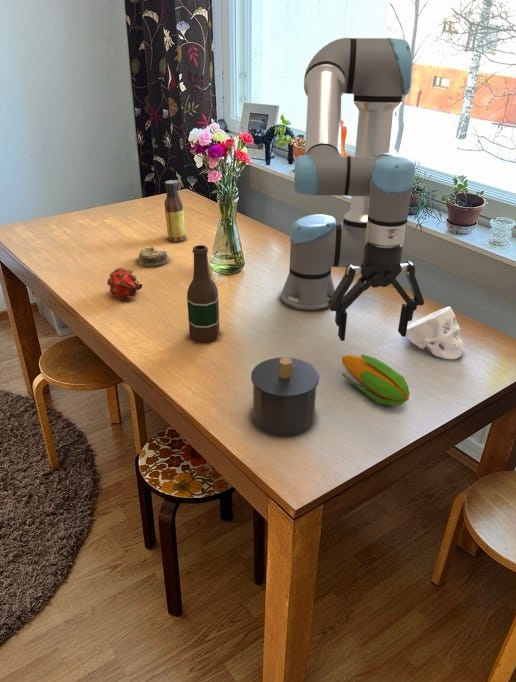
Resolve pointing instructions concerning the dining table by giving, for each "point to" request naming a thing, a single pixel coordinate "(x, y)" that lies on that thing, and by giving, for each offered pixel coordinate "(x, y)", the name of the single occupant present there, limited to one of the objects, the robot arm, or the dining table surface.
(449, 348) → the skull bowl
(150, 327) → the dining table surface
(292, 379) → the pot lid
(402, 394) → the corn
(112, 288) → the dragon fruit
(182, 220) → the sauce bottle
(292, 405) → the pot
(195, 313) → the beer bottle
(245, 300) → the dining table surface
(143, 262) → the grey rough lump
